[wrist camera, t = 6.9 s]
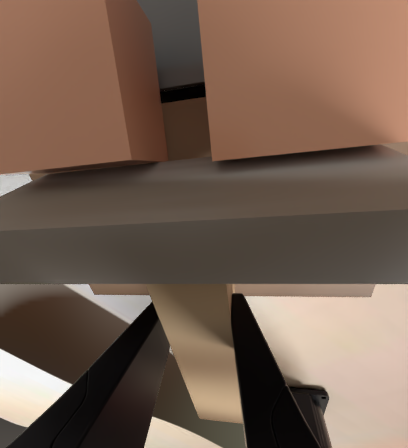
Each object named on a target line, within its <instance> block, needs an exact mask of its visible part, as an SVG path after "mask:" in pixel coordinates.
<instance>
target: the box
mask: <svg viewBox="0 0 408 448" xmlns="http://www.w3.org/2000/svg"><path fill="white" fill-rule="evenodd" d="M137 2H138V3H139V5H140V7H141V8H142V10H143V11H144V13H145V15H146V16H147V18H148V19H149V21H150V23H151V27H152V35H153V43H154V51H155V58H156V66H157V74H158V82H159V90H160V92H164V91H170V90H176V89H182V88H189V87H195V86H201V85H205V78H204V68H203V57H202V46H201V36H200V25H199V14H198V3H197V0H137Z"/></svg>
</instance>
